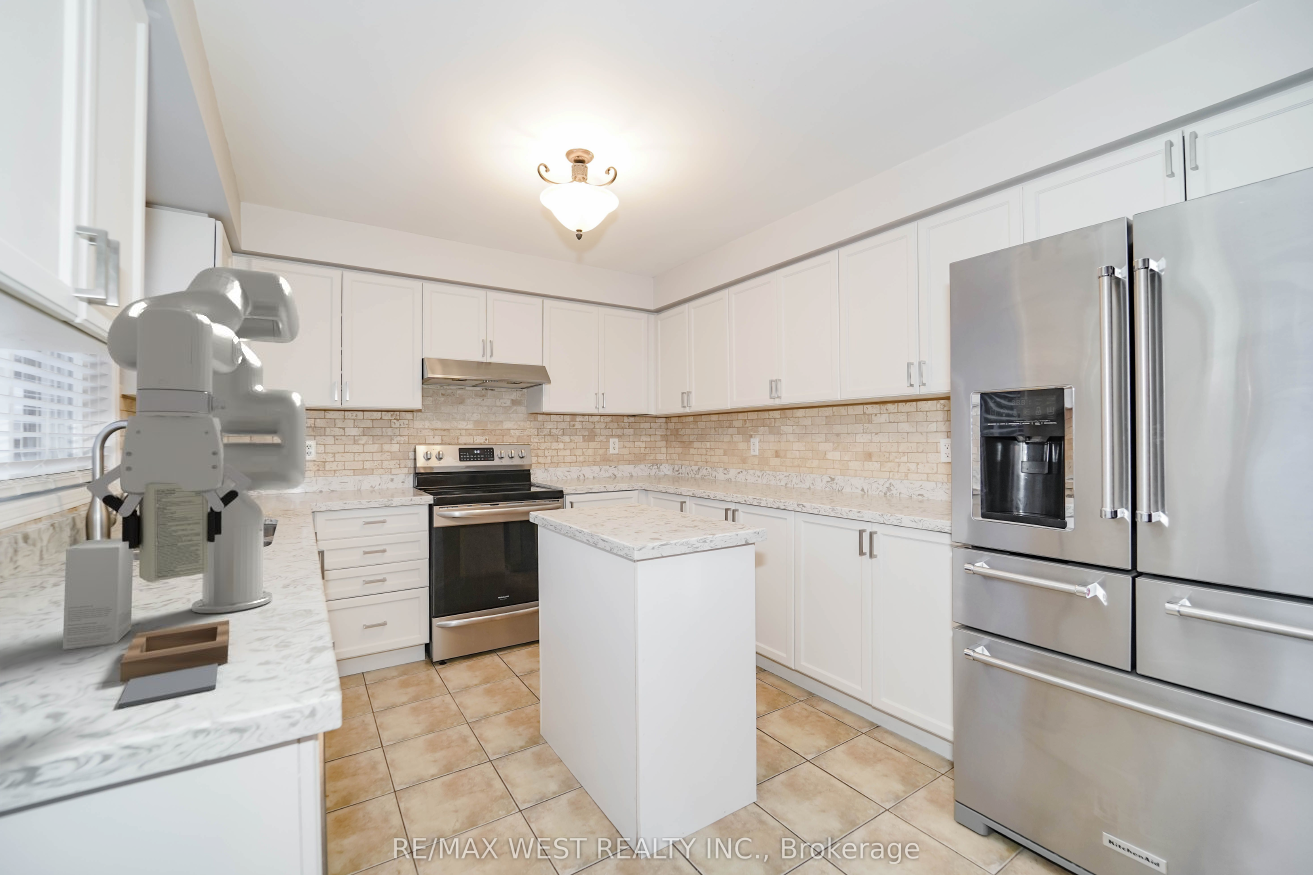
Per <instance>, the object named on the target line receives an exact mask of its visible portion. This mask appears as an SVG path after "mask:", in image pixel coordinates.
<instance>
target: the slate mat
mask: <svg viewBox="0 0 1313 875" xmlns="http://www.w3.org/2000/svg"><path fill="white" fill-rule="evenodd" d="M218 665H219V664H218V663H216V664H211V665H205V666H199V667H194V668H188V669H183V670H177V671H172V672H166V673H161V674H155V675H150V676H144V677H138V678H133V679H130V680H129V681H128V683H127V685H126V687H125V689H124V691H123V693H122V696H121V698H120V699H119V702H118V704H117V706H118V709H122V708H126V707H130V706H135V705H141V704H146V703H151V702H156V701H161V700H165V699H166V700H167V699H171V698H177V697H181V696H186V695H190V694H195V693H201V692H206V691H210V690H215V689H216V686H217V676H218V669H219V668H218V667H219V666H218Z"/></svg>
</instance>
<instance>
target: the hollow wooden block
mask: <svg viewBox="0 0 1313 875" xmlns="http://www.w3.org/2000/svg"><path fill="white" fill-rule="evenodd" d="M229 644H230V619H226V620H225V619H224V620H220V621H214V622H206V623H199V624H192V625H185V626H179V627H171V628H164V629H158V630H151V631H144V632H143V631H142V632H138V633H136V634H135V636H134V638H133V639H132V641H131V643H130V645H129V647H128V648H127V650H126V652H125V654H124V656H123V657H122V660H121V661H120V667H119V669H120V672H119V673H120V674H119V682H120V683H123V682H129V681H130V679H133V678H138V677H144V676H150V675H155V674H161V673H166V672H172V671H177V670H183V669H188V668H194V667H199V666H205V665H211V664H216V663H218V665H222V664H228V661H229Z"/></svg>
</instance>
